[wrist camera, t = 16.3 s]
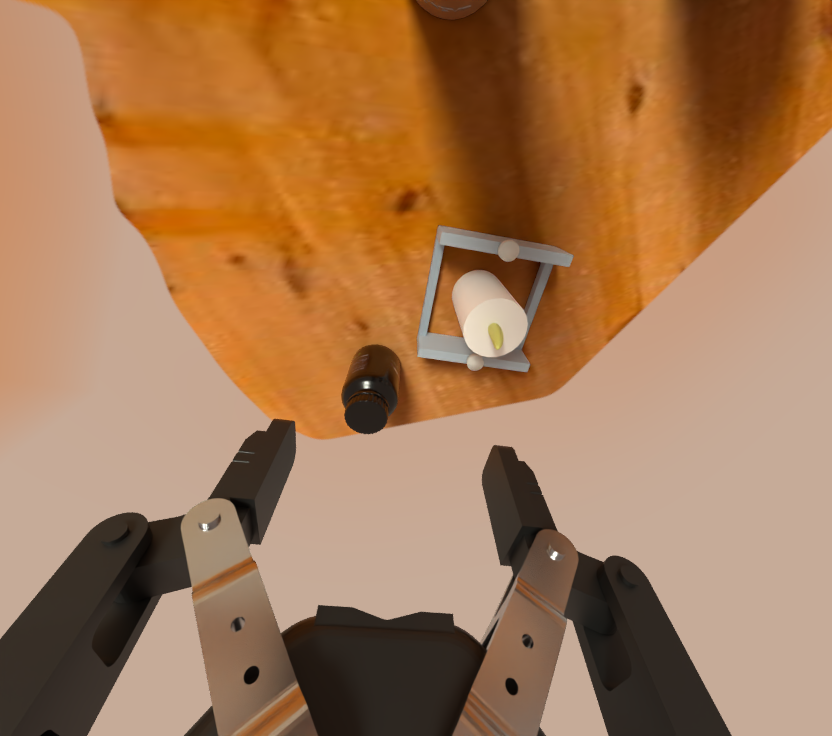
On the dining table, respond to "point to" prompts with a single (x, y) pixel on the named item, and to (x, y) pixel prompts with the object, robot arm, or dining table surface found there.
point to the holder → (507, 251)
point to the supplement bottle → (371, 389)
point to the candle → (488, 314)
